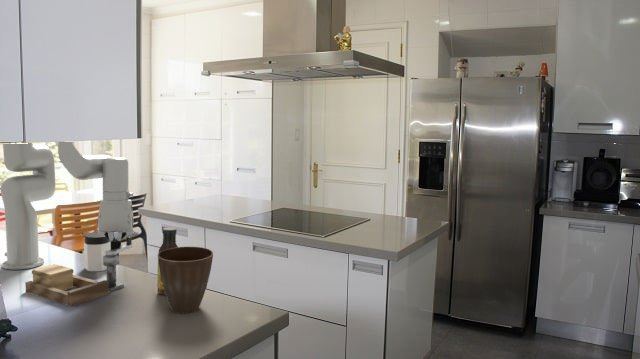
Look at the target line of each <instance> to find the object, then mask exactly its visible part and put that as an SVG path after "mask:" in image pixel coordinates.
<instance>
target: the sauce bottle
mask: <svg viewBox="0 0 640 359" xmlns="http://www.w3.org/2000/svg"><path fill="white" fill-rule="evenodd" d="M176 239H177V228H175V227H164V228H162V244H161V246H160V247H159V248H158V253H159V252H161V251H163V250H166V249H170V248H176V247H179V246H178V244H177V240H176ZM156 274H157V276H156V278H157V280H156V281H157V282H156V287H157V291H156V292H157V293H158V294H160V295H165V296H166V293H165V289H164V286H163V282H162V278H161V273H160V268H159V261H158V260H157V272H156Z"/></svg>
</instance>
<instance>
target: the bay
mask: <svg viewBox="0 0 640 359" xmlns="http://www.w3.org/2000/svg"><path fill="white" fill-rule="evenodd" d="M24 287H25V293H28V294H32V295H35V296H37V297H41V298H44V299H47V300H50V301H53V302H56V303H58V304H62V305H65V306H68V307H74V306H77V305H79V304H84V303H86V302H88V301H89V302H90V301H92V300H94V299H98V298H101V297H103V296H107V295H109V294H110V292H109V282H108V281H107V279H106V280H105V279H104V280H101V281H99V280H96V279H95V280H94V279H90V278H87V277H84V276H80V275H78V274H77V275H76V274H73V288H75V289H71V290H68V291H66V290H64V291H63V290H60V289H56V288H53V287H50V286H46V285H43V284H40V283H37V282H33V280H28V281H25V286H24Z"/></svg>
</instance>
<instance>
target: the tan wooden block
mask: <svg viewBox="0 0 640 359" xmlns="http://www.w3.org/2000/svg"><path fill="white" fill-rule="evenodd" d="M31 274H32V281H33V282H37V283H40V284H43V285H46V286H50V287H53V288H56V289H60V290H63V291H66V290H69V289H73V288H74V287H73V275H74V269H73V268H71V267H66V266H63V265H61V264H56V263H53V264H49V265H45V266H41V267H36V268H34V269H33V268H32V270H31Z"/></svg>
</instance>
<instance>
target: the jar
mask: <svg viewBox="0 0 640 359" xmlns="http://www.w3.org/2000/svg"><path fill="white" fill-rule="evenodd" d="M107 250H111V241H110V240H109V239H108V238H107V237H106V236H103V235H99V234H98V231H97V232H89V233H86V234H85V235H84V242H83V256H84V257H83V258H84V263H83V265H84V269H85V270H86V271H87V272H103V271H106V266H104V265H103V256H105V251H107Z"/></svg>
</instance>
